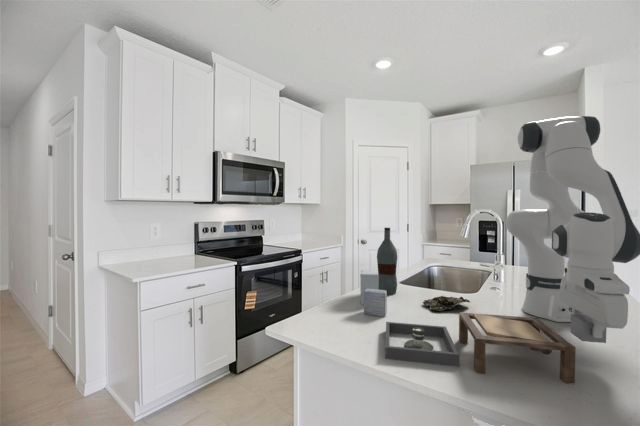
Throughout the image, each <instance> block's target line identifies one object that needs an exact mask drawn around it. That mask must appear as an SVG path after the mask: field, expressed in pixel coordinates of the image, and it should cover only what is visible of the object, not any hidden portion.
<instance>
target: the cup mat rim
mask: <svg viewBox="0 0 640 426" xmlns="http://www.w3.org/2000/svg"><path fill="white" fill-rule="evenodd" d="M414 327H419V328H422V329H424V332H425V334H424V337H433V338H442V339H443V341H444V344H445V346H446V349H447V351H443V350H442V351H441V350H434V349H433V350H424V349H414V348H407V347H405V346H404V347H403V346H393V345H391V344H390V333H392V334H399V335H400V334H402V335H411V336H413V333H412V330H413V328H414ZM385 359H387V360H398V361H405V362H412V363H413V362H414V363H415V362H416V363H421V364H423V363H424V364H431V365H441V366H452V367H460V365H459V364H460V354H459V352H458V350H457V348H456V345H455V344H454V341H453V339H452V337H451V334H450V333H449V331H448V328H447V327H446V326H440V325H428V324H426V325H425V324H418V323H406V322H395V321H392V322H391V321H386V322H385Z"/></svg>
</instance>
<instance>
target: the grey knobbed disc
mask: <svg viewBox="0 0 640 426" xmlns="http://www.w3.org/2000/svg"><path fill="white" fill-rule="evenodd" d="M412 333H413V335H412V338H413V339H410V340H407V341H405V342H404V347H405V348H414V349H424V350H434V345H432V344H431V343H430V342H428V341H425V340H424V338H425V336H424V334H425V332H424V329H422V328H419V327H414V328H413V330H412Z"/></svg>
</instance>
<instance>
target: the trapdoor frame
mask: <svg viewBox="0 0 640 426" xmlns="http://www.w3.org/2000/svg"><path fill="white" fill-rule="evenodd" d="M458 314H459V316H458V341H459V343H460V344H466V343H469V342H468V341H469V334H470V335H471V336H472V338H473V370H474V372H475V373H476V374H481V375H485V374H486V345H497V346H498V345H499V346H508V347H519V348H527V349H528V348H529V349H530V350H531V351H540V350H539V349H549V350H552V351H560V352H559V353H560V354H559V357H560V358H559V359H560V360H559V379H560V380H561V381H562V382H563V383H564V382H565V383H564V384H569V383H576V353H577V352H576V351H577V350H576V346H574V345H573V344H572V343H570V342H569V341H568V340H566V339H565V338H563V336H561V335H560V334H559V333H557V332H556V331H555V330H553V329H552V328H551V327H550V326H548V325H547V324H546V323H544V322H543V321H542V320H540V319H539V317H538V318H537V317H527V316H514V315H501V314H499V315H498V314H488V313H486V314H485V313H473V312H458ZM473 314H477V315H484V316H490V317H497V318H503V319H510V320H516V321H523V322H528V323H529V324H530V325H531V326H532V327H534V328H535V329H536V330H537V331H538V332H540V333H541V332H542V333H543V334H544V335H546V336H547V337H548V338H549V339H550V340H551V341H550V342H546V341H535V340H523V339H512V338H501V337H494V336H488V335H483V334H482V332H481V331H480V330H479V328H478V327H477V325H476V324H475V322H473V320H475V319H474V317H473Z"/></svg>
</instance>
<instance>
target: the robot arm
mask: <svg viewBox="0 0 640 426" xmlns="http://www.w3.org/2000/svg"><path fill="white" fill-rule="evenodd" d="M600 135H601V124H600V121H599V120H598V118H597V117H595V116H591V115H581V116H563V117H562V116H560V117H556V118H549V119H544V120H539V121H536V120H534V121H529V122H526V123H524V124H523V125H522V126H521V127H520V129H519V132H518V134H517V143H518V146H519V149H520V150H521V151H522V152H525V153H530V154H531V153H532V157H531V161H530V173H529V175H530V176H529V191H530V194H531V196H532V197H534V198H536V199H538V200H541V201H543V202H546V203H548V206H549V208H545V209H544V208H543V209H540V208H537V209H536V208H529V209H528V208H525V209H518V210H512V211H511V212H510V213H509V214H508V215H507V217H506V221H505V226H506V230H507V231H508V232H509V234H510V235H512V236H513V237H514V238H516V239H517V240H518V241H519V242H520V244H521V245H522V247H523V248H524V250H525V253H526V258H527V259H526V260H527V262H526V263H527V273H526V274H525V288H526V291H525V297H524V301H523V304H522V307H521V310H522V311H523V312H525V313H526V314H529V315H531V316H534V317H538V318H543V319H546V320H549V321H553V322H556V323H557V322H558V323H571V314H579V315H586V316H588V317H590V318H591V319H593V323H594V326H593V328H590V334H591V335H592V336H593V337H595V338H602V336H603V331H604V329H605V328H606V327H607V328H608V329H619V330H620V329H624V328H625V327H626V326H627V324H628V317H629V302H628V299H627V297H626V296H627V295H630V292H631V289H630V286H629V285H628V284H627V283H626V282H625V281H624V280H622V279H621V278H620V277H619V276H618V275H617V274H616V273H615V264H614V263H622V264H627V263H629V262H631V261H633V260H636V258H638V257H639V256H640V231H639V230H638V228H637V226H636V225H635V224H634V222H633V220H632V217H631V215H630V213H629V210H628V208H627V205H626V202H625V200H624V198H623V194H622V192H621V190H620V188H619V185H618V184H617V181H616V180H615V178H614V175H613V174H612V172H610V171H608V170H607V169H605V168H602V167H601V166H600V165H599V164H598V162H597V160H596V159H595V157H594V155H593V147H592V146H593V145H595V144H596V143H597V142H598V140H599V138H600ZM569 188H570V189H575V190H578V191H581V192H583V193H587V194H589V195H591V196H593V197H594V198H595V199H596V200H597V202H598V204H599V206H600V209H601V211H602V213H597V212H586V211H584V210H582V209H581V208H579V207H578V206H577V205H576V204H575V203H574V202H573V200H572V198H571V196H570V193H569ZM547 239H551V247H550V246H548V245H546V243H545V240H547ZM565 258H568V261H567V263H565V260H566V259H565ZM565 264H566V265H567V266H566V268H567V272H566V273H565ZM607 328H606V329H607Z"/></svg>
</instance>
